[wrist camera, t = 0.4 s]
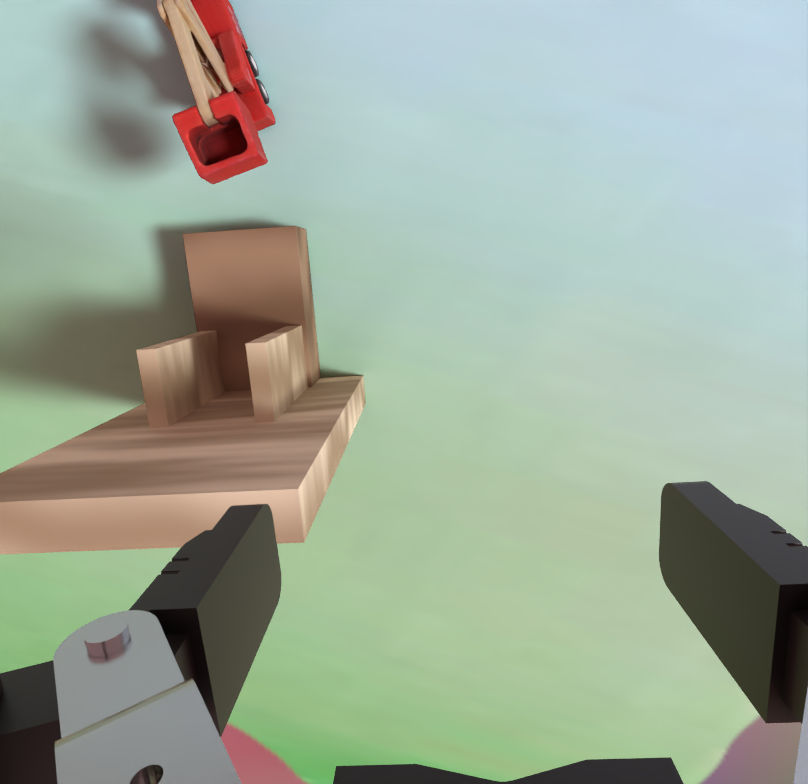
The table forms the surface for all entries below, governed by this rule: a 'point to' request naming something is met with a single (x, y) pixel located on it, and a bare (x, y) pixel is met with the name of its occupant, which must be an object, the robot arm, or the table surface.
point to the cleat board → (202, 418)
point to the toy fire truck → (218, 89)
